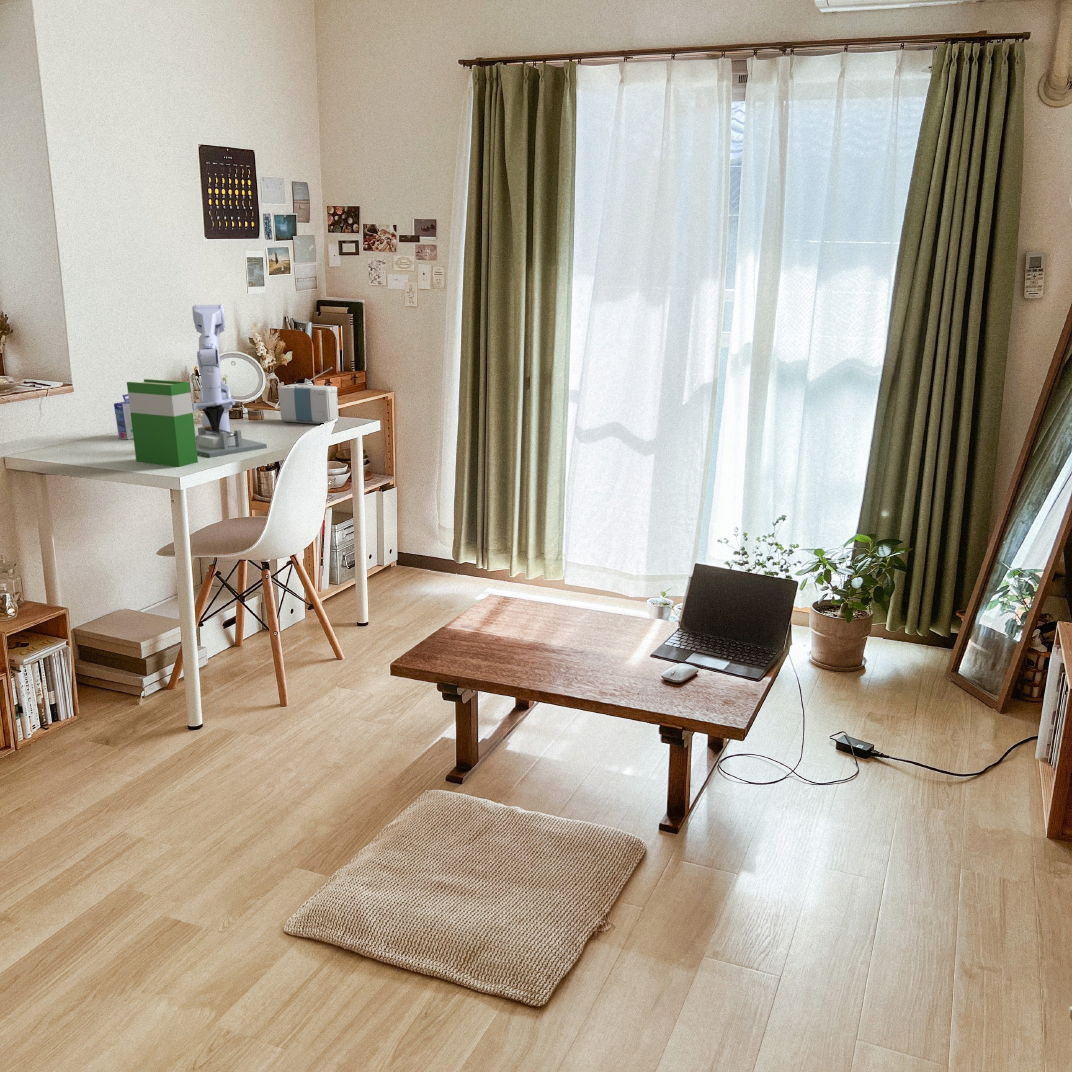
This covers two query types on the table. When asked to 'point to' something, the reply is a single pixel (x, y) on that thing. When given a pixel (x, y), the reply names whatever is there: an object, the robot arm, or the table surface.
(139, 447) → the hardback book
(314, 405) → the stereo radio cassette player
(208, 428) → the clamp bar
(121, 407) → the ink cartridge box
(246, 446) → the board
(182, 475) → the table surface
